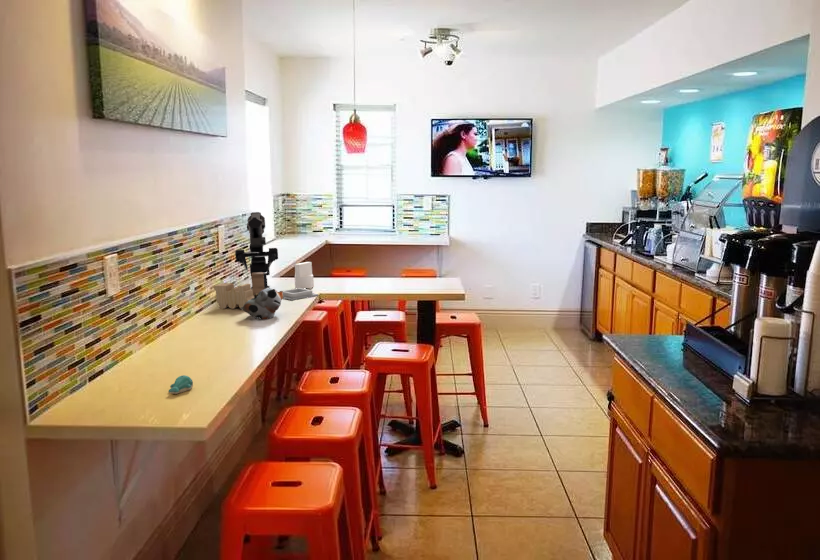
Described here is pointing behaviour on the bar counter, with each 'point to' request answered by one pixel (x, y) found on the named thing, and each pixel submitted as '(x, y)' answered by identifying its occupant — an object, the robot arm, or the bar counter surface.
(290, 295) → the bay tray
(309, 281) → the cylinder with rectangular tab
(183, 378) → the whale figurine
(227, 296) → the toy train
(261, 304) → the lucky cat figurine
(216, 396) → the bar counter surface
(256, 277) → the tapered wooden block
